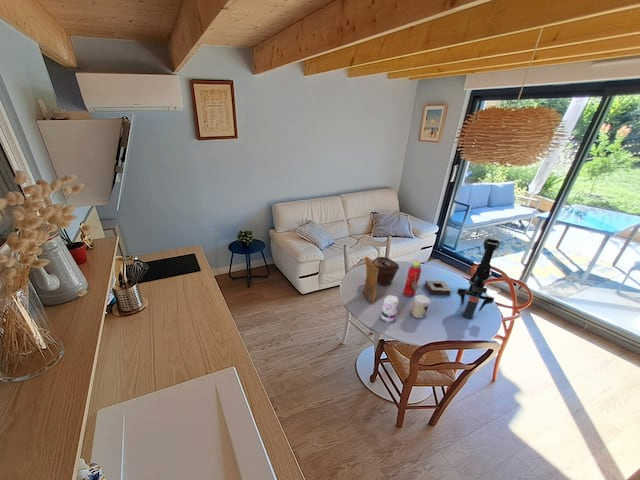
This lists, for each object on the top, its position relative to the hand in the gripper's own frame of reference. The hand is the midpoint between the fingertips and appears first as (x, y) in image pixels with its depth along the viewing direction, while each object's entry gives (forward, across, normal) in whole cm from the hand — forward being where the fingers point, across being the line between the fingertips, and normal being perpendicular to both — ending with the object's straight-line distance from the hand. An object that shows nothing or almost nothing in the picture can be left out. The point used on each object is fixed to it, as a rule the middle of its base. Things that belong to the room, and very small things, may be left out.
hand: (470, 308), depth 174 cm
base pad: (-11, -22, +20) cm, 31 cm away
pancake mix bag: (+15, -59, -5) cm, 61 cm away
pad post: (+4, 0, +6) cm, 7 cm away
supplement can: (+26, -40, -16) cm, 50 cm away
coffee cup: (+16, -26, -6) cm, 31 cm away
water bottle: (+2, -36, +8) cm, 37 cm away
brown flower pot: (-4, -58, +13) cm, 59 cm away
